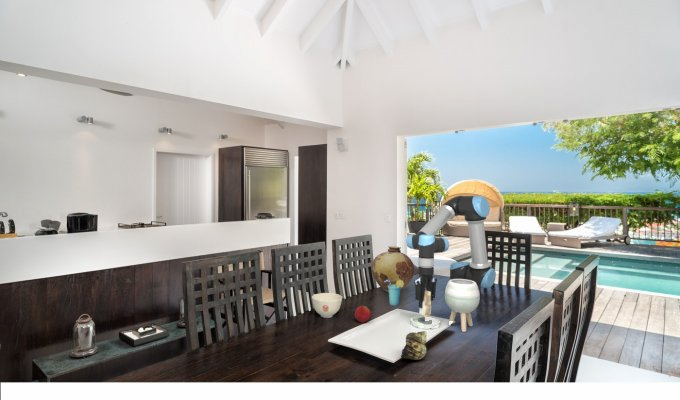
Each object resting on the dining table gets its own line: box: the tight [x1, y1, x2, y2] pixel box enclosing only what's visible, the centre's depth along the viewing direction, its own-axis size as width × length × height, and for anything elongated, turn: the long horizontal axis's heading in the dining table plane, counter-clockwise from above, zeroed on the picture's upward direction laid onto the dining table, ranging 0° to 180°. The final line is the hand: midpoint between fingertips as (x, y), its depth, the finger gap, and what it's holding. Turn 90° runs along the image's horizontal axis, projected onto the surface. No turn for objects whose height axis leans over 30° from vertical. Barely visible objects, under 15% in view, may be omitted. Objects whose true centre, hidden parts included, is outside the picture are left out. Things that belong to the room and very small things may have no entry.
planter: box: [444, 279, 481, 333], centre depth 189 cm, size 16×16×22 cm
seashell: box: [400, 330, 427, 361], centre depth 153 cm, size 11×11×10 cm
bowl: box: [311, 292, 343, 319], centre depth 204 cm, size 16×16×10 cm
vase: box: [371, 245, 415, 293], centre depth 254 cm, size 28×27×30 cm
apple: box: [354, 305, 372, 323], centre depth 195 cm, size 8×8×8 cm
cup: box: [384, 279, 404, 306], centre depth 227 cm, size 14×8×15 cm, turn 124°
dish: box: [409, 315, 441, 329], centre depth 193 cm, size 14×14×3 cm
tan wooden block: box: [419, 289, 431, 317], centre depth 193 cm, size 4×4×12 cm
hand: (425, 313), depth 193 cm, fingers closed on tan wooden block, 3 cm apart
